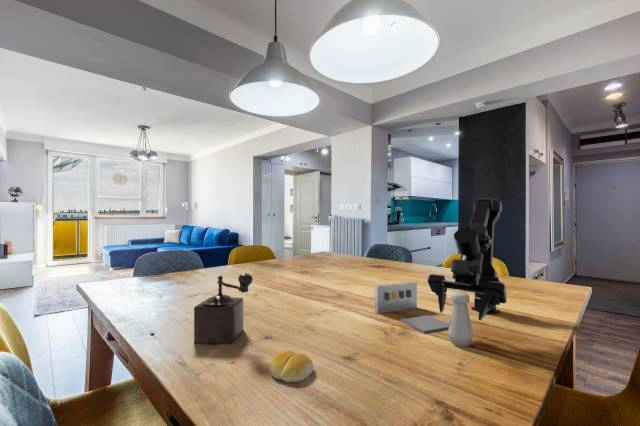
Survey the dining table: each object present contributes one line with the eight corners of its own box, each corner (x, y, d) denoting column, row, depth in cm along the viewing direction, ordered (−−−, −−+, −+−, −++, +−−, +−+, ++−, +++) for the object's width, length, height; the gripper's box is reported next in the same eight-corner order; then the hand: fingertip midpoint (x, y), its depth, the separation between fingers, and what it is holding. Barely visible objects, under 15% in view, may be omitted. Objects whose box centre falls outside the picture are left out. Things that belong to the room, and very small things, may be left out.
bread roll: (286, 359, 70) (286, 342, 70) (318, 370, 65) (318, 351, 65) (260, 375, 63) (260, 356, 63) (295, 388, 58) (295, 368, 58)
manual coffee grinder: (191, 344, 77) (191, 274, 77) (209, 328, 88) (209, 267, 88) (250, 346, 77) (250, 275, 77) (261, 329, 88) (261, 267, 88)
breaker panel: (413, 306, 108) (413, 281, 108) (418, 308, 106) (418, 283, 106) (374, 311, 103) (374, 285, 103) (379, 314, 100) (378, 287, 100)
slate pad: (427, 317, 97) (427, 315, 97) (451, 328, 88) (451, 326, 88) (401, 321, 93) (401, 319, 93) (423, 333, 84) (423, 330, 84)
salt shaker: (476, 349, 74) (475, 296, 74) (451, 347, 75) (450, 295, 75) (469, 339, 79) (469, 290, 80) (446, 338, 81) (445, 289, 81)
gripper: (429, 245, 87) (415, 291, 78) (504, 250, 75) (497, 305, 66) (438, 269, 93) (425, 314, 84) (509, 277, 81) (503, 330, 72)
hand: (459, 315), depth 77 cm, fingers open, 9 cm apart
